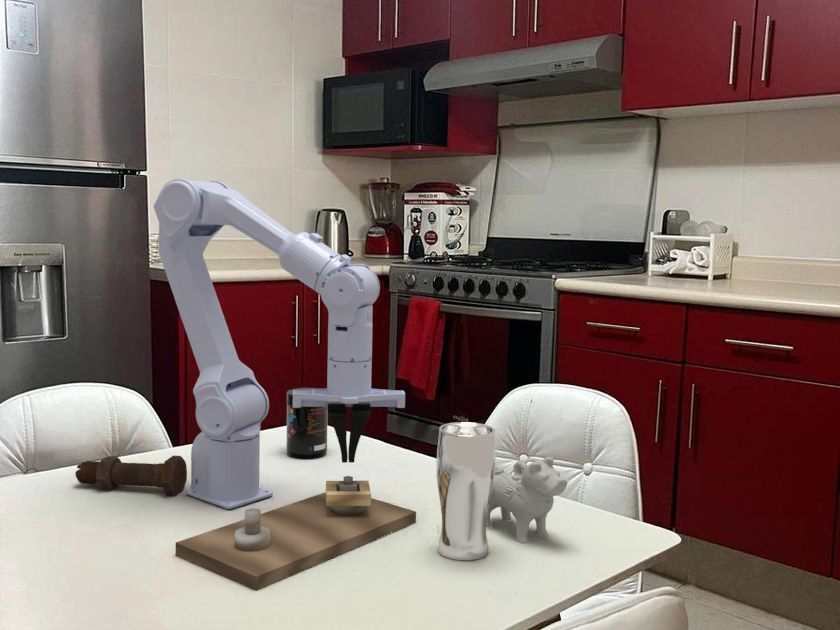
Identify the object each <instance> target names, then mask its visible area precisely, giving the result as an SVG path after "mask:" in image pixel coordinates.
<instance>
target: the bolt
mask: <svg viewBox="0 0 840 630" xmlns="http://www.w3.org/2000/svg"><path fill="white" fill-rule="evenodd" d="M76 469H77V470H76V471H75V478H76V479H77V481H78V482H79V483H80V484H85V485H97V486H98V487H99V489H100V490H101V491H113V490H115V489H117V488H118V487H119V486H130V487H131V486H134V487H150V488H151V487H154V488H158V489H159V488H160V489H162V490H163V492H164V495H165V496H168V497H175V496H178V495H180V494H181V493H182V492H183V491H184V489H185V486H186V484H187V481H188V478H187V477H188V467H187V463H186V460H185V459H184V457H183V456H181V455H172V456H170V457H169V458H168V459H166V460H165V461H163V462H160V463H159V462H158V463H149V462H148V463H147V462H146V463H145V462H144V463H143V462H140V463H139V462H122V461H121V459H120V458H119V457H118V456H116V455H108V456H105V457H103V458H102V459H101V460H99V461H95V460H94V461H91V460H86V461H84V462H81V463H80V464H78V465H77V466H76Z"/></svg>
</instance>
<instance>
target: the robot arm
mask: <svg viewBox="0 0 840 630" xmlns="http://www.w3.org/2000/svg"><path fill="white" fill-rule="evenodd" d="M153 209H154V212H155V215H156V218H157V220H158V223H159V224H158V253H159V257H160V260H161V264H162V267H163V269H164V272H165V274H166V275H165V276H166V279H167V280H168V284H169V285H170V289H171V291H172V294H173V298H174V301H175V304H176V306H177V310H178V312H179V316H180V319H181V321H182V324H183V327H184V330H185V333H186V335H187V338H188V341H189V343H190V347H191V350H192V353H193V356H194V359H195V363H196V365H197V367H198V370H199V376H198V378H197V380H196V382H195V384H194V387H193V390H192V393H193V395H194V399H195V405H196V407H195V418H196V422H197V423H196V424H197V425H198V427H199V429H200V430H201V431H200V433H198V434H197V436H196V437H195V439H194V440H193V442H192V446H191V450H190V451H191V452H190V454H191V455H190V457H191V458H190V459H191V460H190V462H191V463H190V472H191V473H190V474H191V475H190V477H191V481H190V482H191V484H190V485H191V487H190V488H191V489H187V490H186V492H185V494H186V495H187V496H188V495H189V496H191V497H194V498H196V499H199V500H202V501H205V502H207V503H210V504H213V505H216V506H217V507H221V508H224V509H227V510H232V509H235V508H238V507H241V506H244V505H247V504H250V503H253V502H256V501H260V500H263V499H266V498H269V497H272V496H273V495H274V494H273V491H271V490H267V489H264V488H262V487H260V458H261V457H260V446H261V445H260V443H261V441H260V439H261V435H260V433H261V432H260V431H261V429H262V427H261V423H262V422H263V420H265V418H266V417H267V415H268V413H269V410H270V400H269V396H268V394H267V392H266V391H265V389H264V388H263V386H261V385H260V384H259V382H258V381H257V379H256V377H255V374H254V371H253V370H252V369H251V368H249V366H247V365H246V364H244V363H243V362H242V361H241V360H240V359H239V356H238V353H237V351H236V348H235V345H234V342H233V339H232V336H231V333H230V331H229V327H228V324H227V322H226V318H225V315H224V313H223V310H222V307H221V304H220V301H219V299H218V296H217V293H216V289H215V287H214V285H213V280H212V278H211V276H210V273H209V269H208V267H207V264H206V261H205V258H204V252H205V250H206V248H207V246H208V245H209V243H210V241H211V240H212V239H213V238H214V237H215V236H216V235H217V234H218V233H219V232H220V231H221V230H222V228H223V227H225V226H229V227H233V228H235V230H237V231H239V232H241V233H242V234H244V235H246V236H247V237H249V238H250V239H253V240H254V241H256V242H257V243H259V244H260V245H261V246H264V247H265V248H266V249H269V250H270V251H272V252H273V253H275V254H277V255H278V257H279V259H278V260H279V264H280V266H281V268H282V269H283V270H284V271H286V272H287V273H288V274H290V275H291V276H293V277H294V278H295V279H297V280H299V281H300V282H301V283H303V284H305V285H306V286H307V287H309V288H310V289H312V290H313V291H315V292H316V293H317V294H319V295H320V297H321V301H322V302H323V304H324V305H325V307H326V309H327V311H328V322H327V323H328V324H327V326H328V327H327V369H326V370H327V377H326V378H327V381H326V382H327V383H326V384H327V385H326V387H327V388H325V387H324V388H318V389H311V390H293V408H301V407H328V418H329V420H330V423H331V425H332V427H333V430H334V433H335V435H336V437H337V441H338V445H339V448H340V454H341V463H346V464H347V463H355V459H356V452H357V448H358V446H359V445H358V444H359V442H360V440H361V437H362V434H363V431H364V429H365V427H366V425H367V423H368V421H369V420H370V417H371V416H372V415H371V413H372V410H371V407H373V408H374V407H379V408H380V407H382V408H383V407H386V408H387V407H390V408H391V407H393V408H394V407H395V408H398V409H405V407H406V392H405V391H404V390H396V389H395V390H393V389H382V388H381V389H379V388H372V369H373V367H372V365H373V363H372V361H373V310H374V308H373V307H374V306H373V304H374V303H375V302H376V301H377V299H378V297H379V296H380V290H381V285H380V280H379V277H378V276H377V274H376V272H374V271H373V270H372V269H371V268H370V267H369V265H368V264H363V263H354V264H352V262H351V260H352V258H351V257H350V256H349V255H348V254H340V253H338V252H337V251H335V250H334V249H333V248H331V247H329V246H328V245H326V244H325V243H323V242H322V241H323V236H322V235H321V234H318V233H317V232H312V233H308V232H306V231H303V232H302V231H301V232H299V233H296V234H294V233H292V232H291V231H290V230H288V229H287V228H286V227H285V226H283V225H282V224H281V223H279V222H278V221H276V220H275V219H273V218H272V217H271V216H269V214H267V213H266V212H264V211H263V210H262V209H261V208H259V207H258V206H256V205H255V204H254V203H252V202H251V201H250V200H249V199H248V198H246V197H245V196H244V195H243V194H241V192H239V191H238V190H236V189H234V188H230V187H229V186H228V185H226V183H223V182H222V181H218V180H217V181H216V180H210V181H202V180H190V179H189V180H188V179H186V178H173V179H171V180H169V181H167V182H166V183H165V184H164V185H163V187H162V188H161V190H160V192H159V194H158V196H157V197H156V200H155V202H154V204H153ZM347 407H349V408H350V411H349V412H350V417H349V418H350V420H349V422H350V425H349V430H350V431H349V442H348V444H347V435H348V434H347V432H348V431H347V430H348V427H347V426H348V425H347V424H348V410H347Z"/></svg>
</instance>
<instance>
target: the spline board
mask: <svg viewBox="0 0 840 630" xmlns="http://www.w3.org/2000/svg"><path fill="white" fill-rule="evenodd" d="M338 481H339V491H357V482H356V481H357V480H354V476H350V475H345V476H343V480H338ZM413 523H414V524H416V523H417V511H415V510H412V509H408V508H405V507H403V506H399V505H396V504H392V503H390V502H386V501H382V500H379V499H377V498H372V497H371V506H326V491H325V492H322V493H320V494H319V493H318V494H316V495H313V496H309V497H307V498H304V499H301V500H298V501H295V502H292V503H289V504H286V505H283V506H280V507H278V508H277V507H276V508H274V509H271V510H268V511H266V512H262V511H261V509H259V508H247V509H246V510H245V511H244V519H241V520H239V521H236V522H233V523H230V524H227V525H224V526H220V527H218V528H214V529H212V530H211V529H210V530H209V531H206V532H202V533H200V534H197V535H193V536H191V537H188V538H185V539H182V540H179V541H176V542H175V556H177V557H179V558H182V559H184V560H186V561H189V562H191V563H193V564H196V565H197V566H200V567H202V568H205V569H207V570H209V571H212V572H214V573H216V574H218V575H220V576H223V577H225V578H228V579H230V580H232V581H234V582H237V583H239V584H241V585H244V586H246V587H247V588H250V589H252V590H255V591H258V590H260V589H263V588H265V587H267V586H269V585H272V584H275V583H277V582H279V581H282V580H284V579H286V578H289V577H291V576H294V575H296V574H298V573H301V572H303V571H305V570H308V569H310V568H312V567H315V566H317V565H319V564H321V563H323V562H327V561H329V560H331V559H333V558H336V557H338V556H341V555H343V554H346V553H348V552H350V551H352V549H353V550H355V549H357V548H359V546H360V547H362V546H364V545H366V543H367V542H369V543H371V542H370V541H372V540H374V541H376V540H378V539H377V538H379V539H381V538H383V537H385V536H384V535H386V536H388V535H390V534H392V533H391V532H393V533H395V532H397V531H399V530H398V529H400V530H402V529H404V528H403V527H405V526H407V527H409V526H411V524H412V525H414V524H413ZM408 525H409V526H408ZM401 528H402V529H401ZM405 528H406V527H405ZM396 530H397V531H396ZM394 531H395V532H394ZM389 533H390V534H389ZM387 534H388V535H387ZM382 536H383V537H382ZM380 537H381V538H380ZM375 539H376V540H375ZM372 542H373V541H372ZM363 544H364V545H363ZM367 544H368V543H367ZM361 545H362V546H361ZM354 548H355V549H354Z"/></svg>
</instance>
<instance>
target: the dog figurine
mask: <svg viewBox="0 0 840 630" xmlns="http://www.w3.org/2000/svg"><path fill="white" fill-rule="evenodd" d="M554 460H555V459H554V458H553V457H552V456H551V457H550V456H547V457H545V458H543V459H540V460H535V461H532V462H531V463H530V464H527V463H526V462H525V461H523V460H519V461H516V462H515V463H514V466H513V472H514V474H510V473H509V472H507V471H504V470H505V469H504V467H500V466H496V465H495V476H494V482H493V488H492V493H491V498H490V502H489V506H488V511H487V517H486V529H487V528H488V529H489V528H493V527H494V525H493V523H492V521H491V517H490V516H491V513H492V512H493V510H495V509H497V508H500V515H501V519H502V520H503V521H505V522H511V521H513V520H512V519H513V518H512V516H513V517H514V519H515V520H516V543H520V544H523V545H524V544H528V542H529V540H528V538H527V537H528V536H527V535H528V531H529V528H530V524H531V522H532V521H533V520H535V525H536V527H535V532H536V535H537V537H538V536H539V537H543V538H544V537H545V538H546V537H548V536H549V534H548V531H547V528H546V525H547V524H546V520H547V519H546V518H547V515H548V514H549V512H551V510H553V509H552V508H553V505H554V501H555V499H554V497H556V496H559V495H561V494H562V493H564V492H565V490H566V489H567V486H568V481H567V480H566V479H565V478H562V477H561V474H560V471H558V470H556V469H555V468H554V466H553V465H554Z"/></svg>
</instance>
